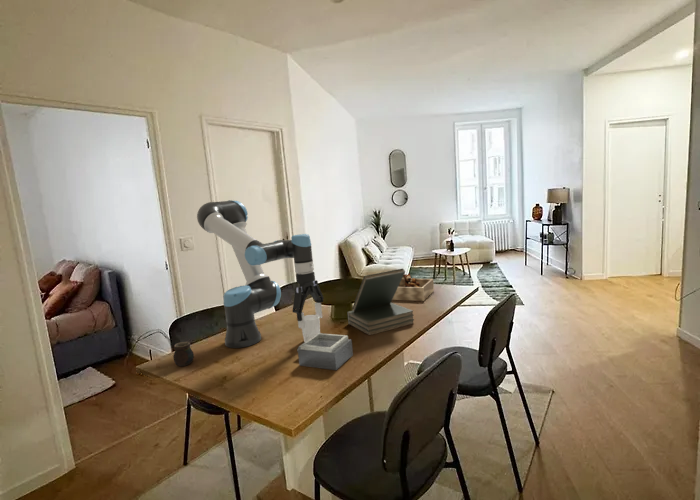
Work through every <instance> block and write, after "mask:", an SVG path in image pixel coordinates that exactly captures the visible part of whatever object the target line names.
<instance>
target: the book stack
mask: <svg viewBox="0 0 700 500" xmlns="http://www.w3.org/2000/svg"><path fill="white" fill-rule="evenodd" d="M405 273H406V270H405V269H404V268H398V269H397V268H396V269H394V270H388V271H383V272H378V273H371V274H367V275H366V274H365V275H364V276H363V278H362V280H361V284H360V286H359V289H358V292H357V294H356V297H355V299H354V303H353V305H352V308H351V310H349V311H347V312H346V313H347V320H348V325H350V326H352V327H353V328H356V329H357V330H358V331H360V332H362V333H364V334H367V335H368V336H373V335H376V334H379V333H382V332H383V333H384V332H387V331H390V330H394V329H399V328H402V327H406V326H410V325H413V324H414V321H415V319H414V310H412V309H411V308H406V307H405V306H402V305H399V304H396V303H394V302H392V301H393V300H392V299H393V297H394V295H395V292H396V290H397V288H398V286H399V284H400V282H401V280H402V279H403V278H404V276H403V275H405Z"/></svg>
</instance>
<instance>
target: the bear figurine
mask: <svg viewBox="0 0 700 500" xmlns="http://www.w3.org/2000/svg"><path fill="white" fill-rule="evenodd" d="M403 279H404V280H405V287H419V286H420V284H419V283H418V282H416V279H417V278H416V277H413V278H412V277H411V273H410V272H409V273H408V274H404V275H403Z"/></svg>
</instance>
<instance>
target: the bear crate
mask: <svg viewBox="0 0 700 500" xmlns="http://www.w3.org/2000/svg"><path fill="white" fill-rule="evenodd" d="M416 282H418V283H419V284H420V286H419V287H405V280H404V278H402V280H401V282H400V284H399V286H398V288H397V290H396V292H395V295H394V297H393V299H392V301H396V300H397V301H419V302H424V301H426V299H428V298H429V296H430V295H431V294H432V293H434V291H435V286H434V278H416Z"/></svg>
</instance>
